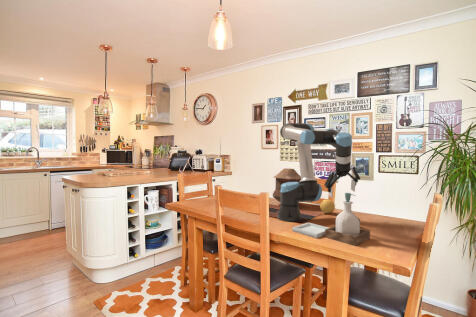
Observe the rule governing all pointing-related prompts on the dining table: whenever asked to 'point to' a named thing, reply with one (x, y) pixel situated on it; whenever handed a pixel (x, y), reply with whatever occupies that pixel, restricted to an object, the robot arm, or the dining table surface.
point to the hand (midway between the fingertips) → (341, 193)
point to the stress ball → (327, 206)
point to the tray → (310, 230)
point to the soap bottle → (347, 219)
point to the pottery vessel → (284, 180)
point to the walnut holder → (347, 236)
